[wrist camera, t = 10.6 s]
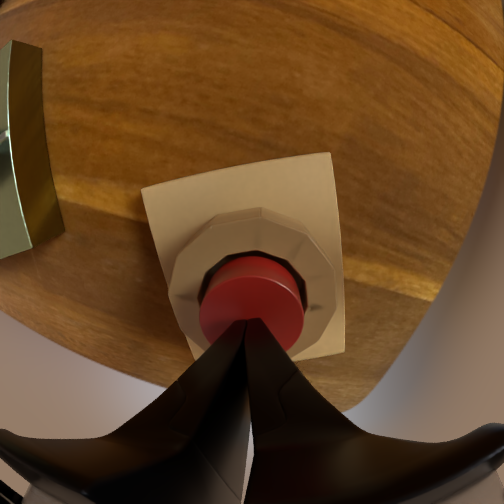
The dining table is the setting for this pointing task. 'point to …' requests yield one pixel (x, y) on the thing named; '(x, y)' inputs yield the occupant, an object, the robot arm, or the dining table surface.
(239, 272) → the red button
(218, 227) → the button block
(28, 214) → the panel
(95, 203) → the dining table surface
